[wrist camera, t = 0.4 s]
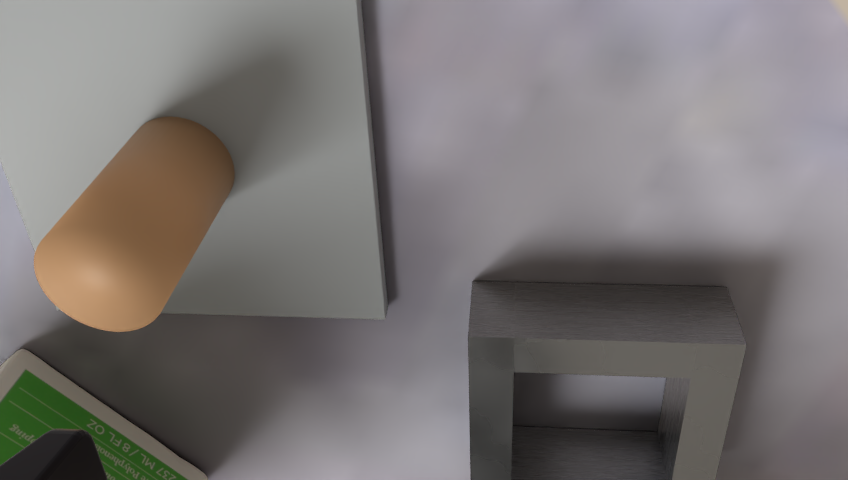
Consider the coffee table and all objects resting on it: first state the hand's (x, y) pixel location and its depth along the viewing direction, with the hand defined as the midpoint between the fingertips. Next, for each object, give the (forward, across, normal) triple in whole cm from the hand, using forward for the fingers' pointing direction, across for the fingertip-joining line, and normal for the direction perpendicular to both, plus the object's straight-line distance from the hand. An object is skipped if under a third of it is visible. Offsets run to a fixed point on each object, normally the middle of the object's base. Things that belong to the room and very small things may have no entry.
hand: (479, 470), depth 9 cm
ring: (+13, -3, +10) cm, 16 cm away
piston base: (+12, +8, +2) cm, 15 cm away
